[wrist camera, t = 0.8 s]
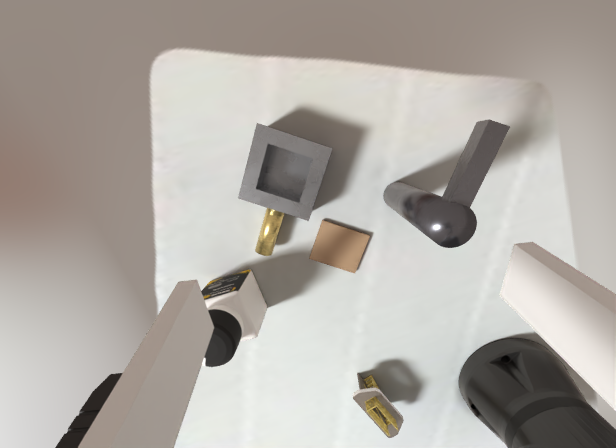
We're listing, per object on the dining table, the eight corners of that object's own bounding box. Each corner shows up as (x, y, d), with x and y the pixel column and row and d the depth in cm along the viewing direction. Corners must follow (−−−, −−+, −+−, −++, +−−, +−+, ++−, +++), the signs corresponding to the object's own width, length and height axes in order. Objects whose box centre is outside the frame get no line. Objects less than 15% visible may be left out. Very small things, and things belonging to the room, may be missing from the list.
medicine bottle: (251, 267, 40) (223, 314, 29) (268, 307, 42) (248, 367, 30) (209, 281, 41) (165, 331, 30) (227, 319, 43) (192, 381, 31)
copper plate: (369, 234, 38) (369, 236, 37) (354, 271, 39) (354, 273, 39) (322, 219, 38) (322, 220, 37) (309, 257, 39) (309, 258, 39)
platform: (373, 329, 42) (383, 360, 36) (434, 403, 46) (452, 443, 39) (314, 365, 45) (313, 401, 38) (375, 433, 48) (384, 476, 42)
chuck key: (404, 211, 37) (463, 253, 21) (379, 203, 37) (421, 239, 21) (434, 140, 34) (526, 130, 19) (408, 131, 34) (479, 114, 19)
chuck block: (331, 148, 35) (332, 148, 30) (295, 256, 39) (292, 270, 34) (265, 127, 35) (257, 123, 30) (237, 237, 39) (225, 249, 34)
